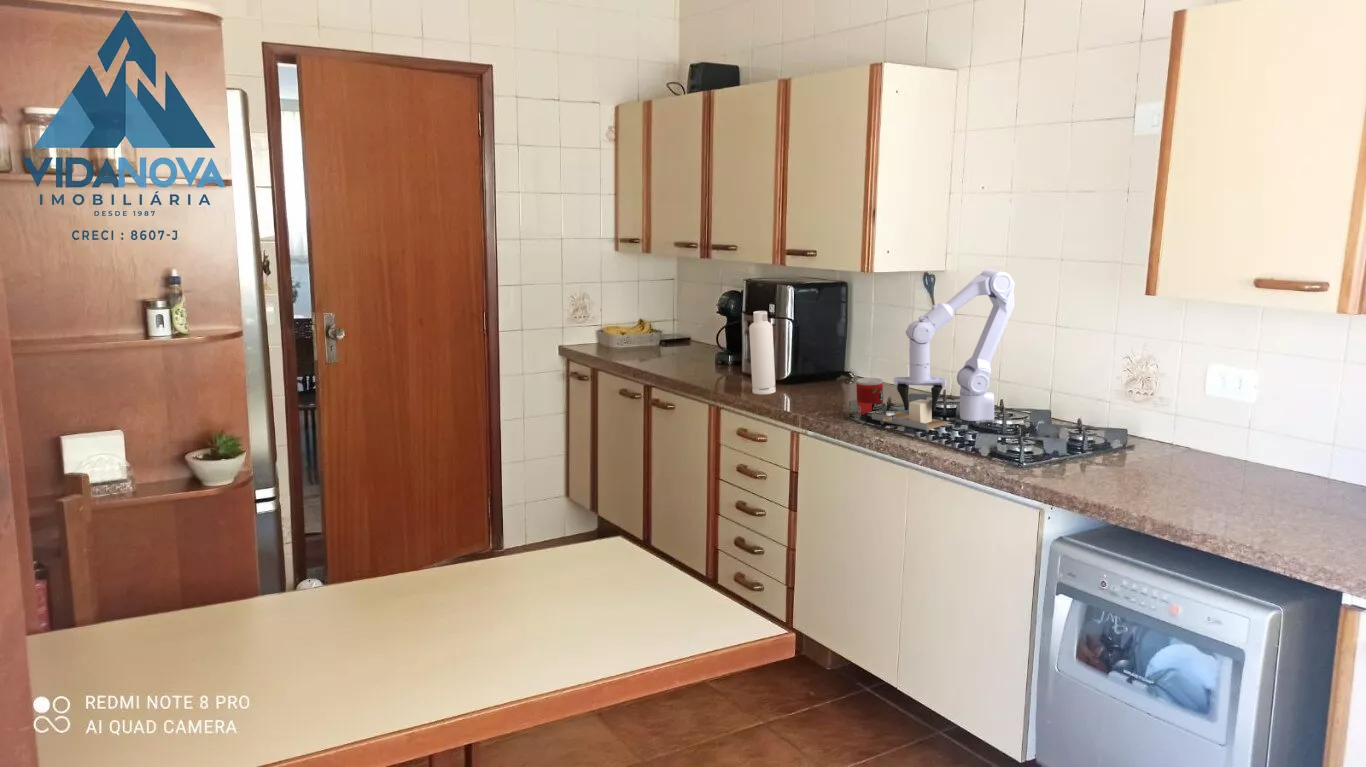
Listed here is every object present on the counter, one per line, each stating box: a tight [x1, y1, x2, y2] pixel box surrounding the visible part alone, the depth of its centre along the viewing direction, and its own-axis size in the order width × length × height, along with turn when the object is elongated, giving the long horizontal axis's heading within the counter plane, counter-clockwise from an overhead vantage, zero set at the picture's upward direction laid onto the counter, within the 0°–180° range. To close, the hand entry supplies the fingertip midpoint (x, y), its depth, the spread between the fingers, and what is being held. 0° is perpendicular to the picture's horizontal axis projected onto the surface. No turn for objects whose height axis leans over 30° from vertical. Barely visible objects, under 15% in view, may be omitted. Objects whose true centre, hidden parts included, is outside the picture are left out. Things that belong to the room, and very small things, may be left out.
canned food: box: [855, 377, 884, 415], centre depth 286 cm, size 8×8×11 cm
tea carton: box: [908, 398, 933, 423], centre depth 270 cm, size 5×4×6 cm
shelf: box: [871, 411, 952, 432], centre depth 273 cm, size 20×11×3 cm, turn 37°
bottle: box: [748, 310, 776, 395], centre depth 325 cm, size 8×8×28 cm
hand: (920, 409), depth 270 cm, fingers open, 7 cm apart
